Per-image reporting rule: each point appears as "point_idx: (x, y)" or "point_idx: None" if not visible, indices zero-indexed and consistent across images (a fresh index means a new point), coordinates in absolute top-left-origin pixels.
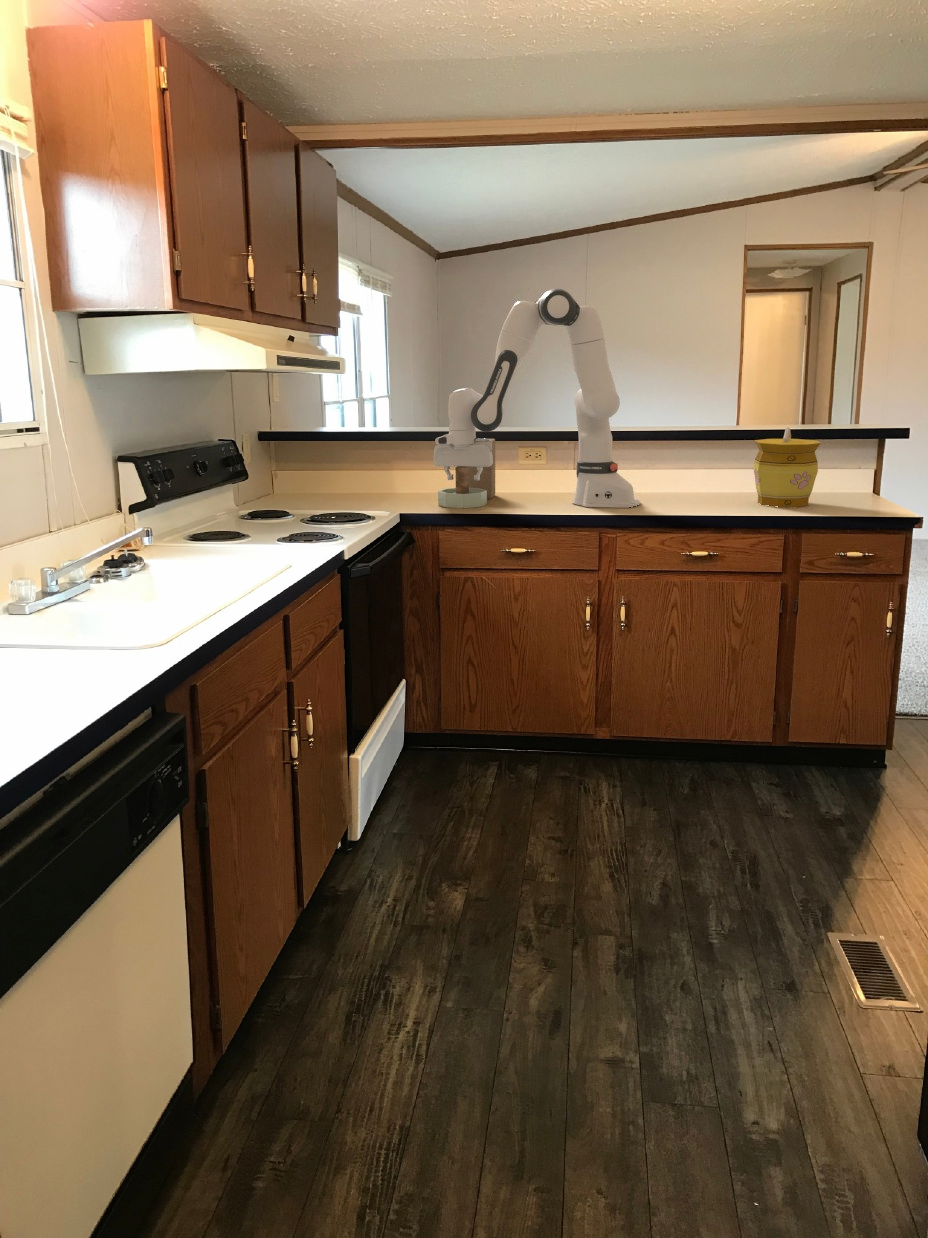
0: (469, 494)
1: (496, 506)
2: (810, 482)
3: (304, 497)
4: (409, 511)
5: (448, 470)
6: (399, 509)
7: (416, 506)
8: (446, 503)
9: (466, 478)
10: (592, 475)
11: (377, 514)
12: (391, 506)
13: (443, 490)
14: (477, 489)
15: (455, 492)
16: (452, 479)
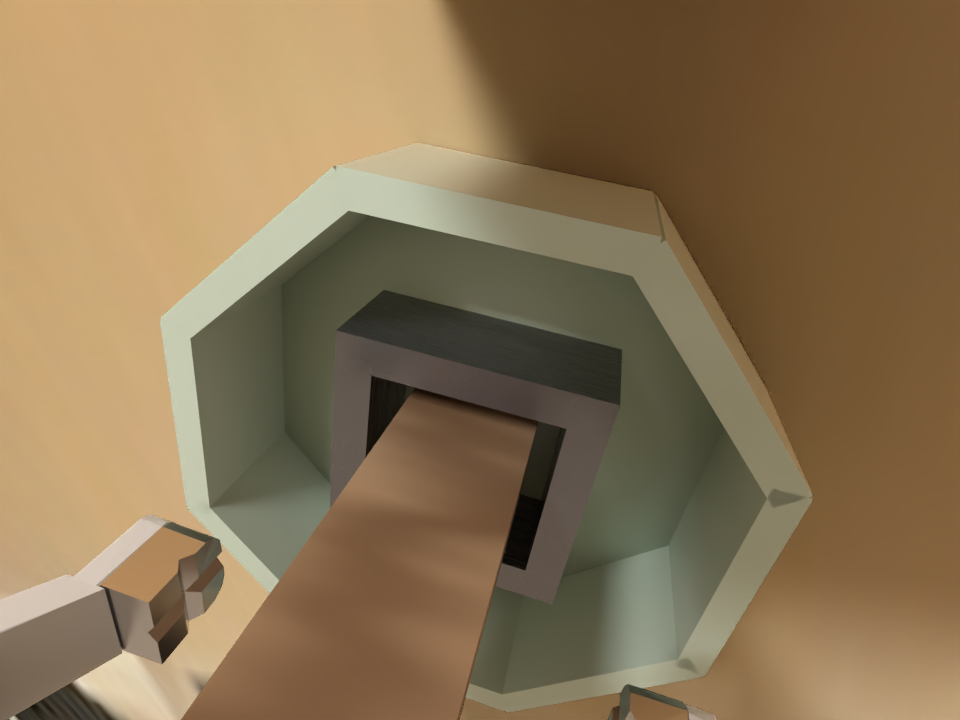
0: (568, 692)
1: (871, 545)
2: None
3: None
4: (215, 646)
5: (4, 659)
6: None
7: (159, 488)
8: None
9: (459, 716)
10: None
11: (116, 690)
12: (15, 476)
13: (206, 427)
14: (645, 293)
15: (343, 379)
16: (216, 554)
